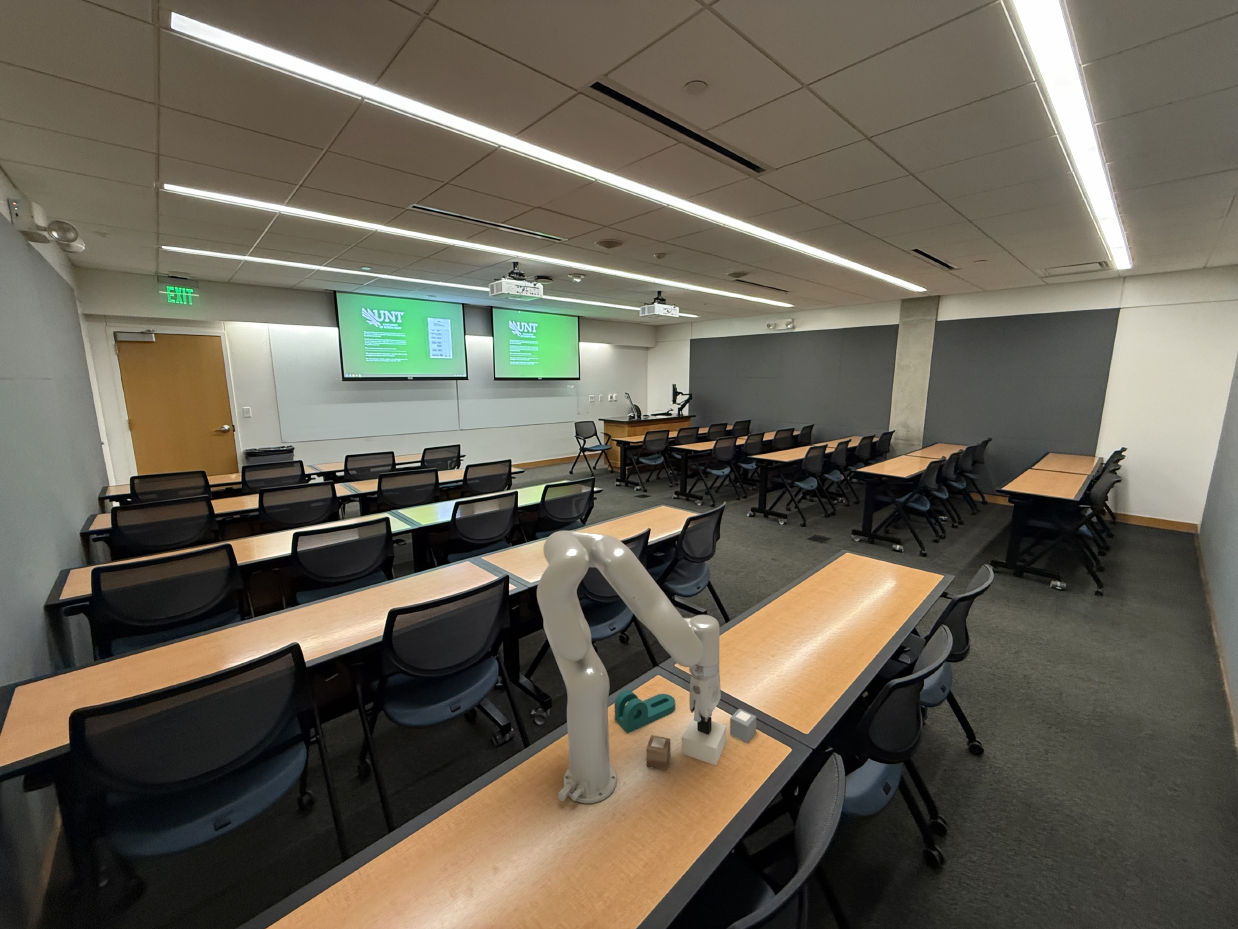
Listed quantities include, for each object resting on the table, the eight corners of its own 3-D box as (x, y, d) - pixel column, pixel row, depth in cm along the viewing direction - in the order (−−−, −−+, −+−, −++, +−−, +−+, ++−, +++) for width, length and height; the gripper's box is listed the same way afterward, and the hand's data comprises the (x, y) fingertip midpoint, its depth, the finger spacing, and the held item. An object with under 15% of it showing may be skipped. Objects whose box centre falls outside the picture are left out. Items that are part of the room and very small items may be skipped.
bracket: (627, 734, 129) (626, 708, 128) (614, 720, 135) (614, 694, 134) (680, 710, 139) (679, 685, 137) (665, 698, 144) (665, 674, 143)
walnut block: (666, 771, 116) (666, 751, 116) (646, 767, 118) (646, 747, 117) (670, 756, 121) (670, 737, 120) (651, 752, 123) (651, 733, 122)
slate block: (747, 743, 125) (747, 725, 124) (730, 734, 128) (730, 716, 127) (756, 733, 128) (756, 715, 127) (739, 725, 132) (739, 707, 131)
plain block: (716, 766, 118) (716, 748, 117) (681, 754, 122) (681, 736, 121) (726, 742, 125) (726, 725, 125) (693, 732, 130) (693, 715, 129)
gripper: (706, 685, 112) (707, 755, 115) (728, 655, 124) (728, 719, 127) (677, 676, 116) (678, 744, 119) (701, 647, 128) (702, 709, 131)
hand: (704, 731), depth 123 cm, fingers closed
